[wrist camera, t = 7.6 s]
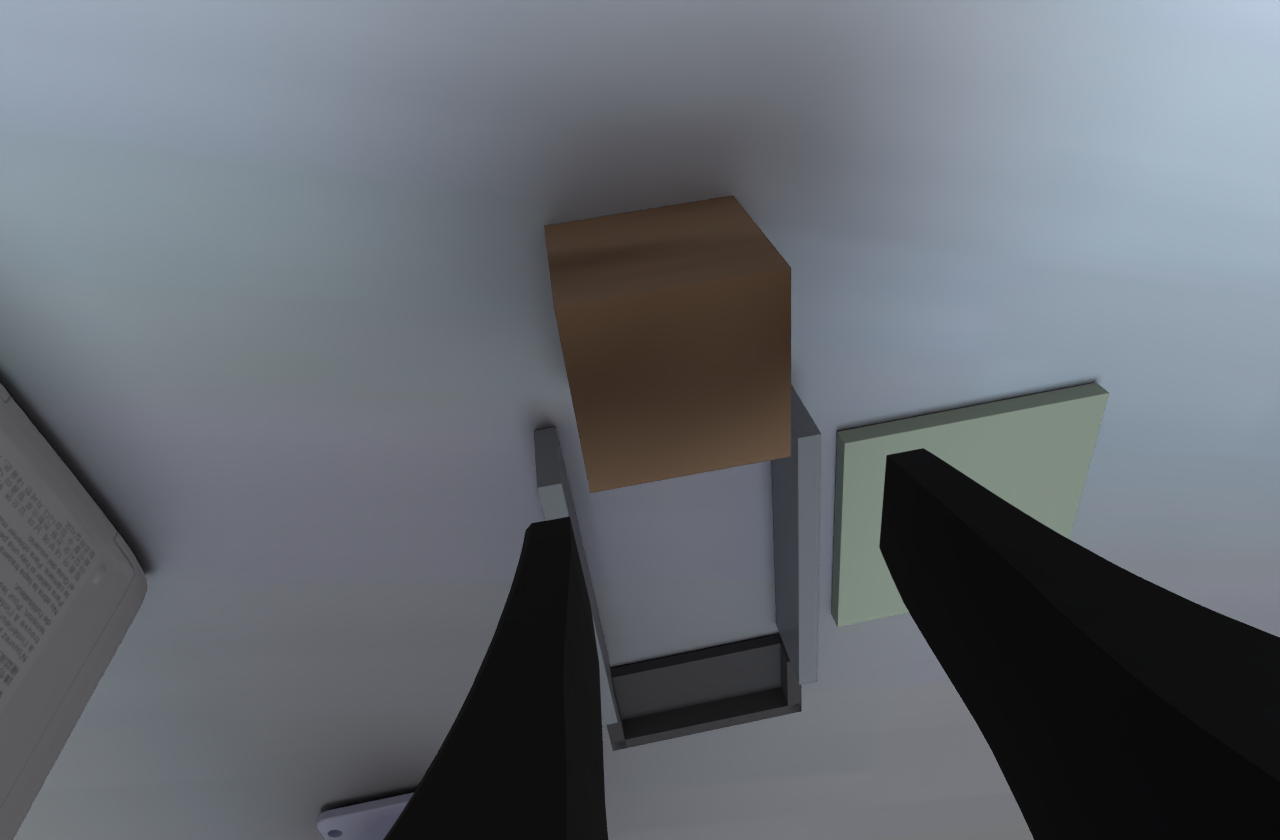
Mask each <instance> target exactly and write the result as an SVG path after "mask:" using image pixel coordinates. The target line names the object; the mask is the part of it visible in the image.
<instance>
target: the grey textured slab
mask: <svg viewBox="0 0 1280 840" xmlns="http://www.w3.org/2000/svg"><path fill="white" fill-rule="evenodd" d="M146 592H147V581H146V577H145V574H144V572H143V570H142V568H141V566H140V565H139V563H138V561H137V559H136V557H135V556H134V554H133V552H132V551H131V549H130V548H129V546H128V545H127V544H126V542H125V541H124V539H123V538H122V536H121V535H120V534H119V533H118V532H117V531H116V529H115V528H114V526H113V525H112V524H111V522H110V521H109V520H108V519H107V517H106V516H105V514H104V513H103V512H102V510H101V509H100V508H99V507H98V505H97V504H96V503H95V502H94V500H93V499H92V498H91V497H90V495H89V494H88V493H87V491H86V490H85V489H84V488H83V486H82V485H81V484H80V482H79V481H78V480H77V478H76V477H75V476H74V475H73V473H72V472H71V471H70V470H69V468H68V467H67V466H66V464H65V463H64V462H63V461H62V460H61V458H60V457H59V456H58V455H57V453H56V452H55V451H54V450H53V448H52V447H51V446H50V445H49V443H48V442H47V441H46V440H45V438H44V437H43V436H42V435H41V433H40V432H39V431H38V430H37V429H36V427H35V426H34V425H33V424H32V422H31V421H30V420H29V418H28V417H27V416H26V414H25V413H24V412H23V411H22V409H21V408H20V407H19V406H18V405H17V404H16V403H15V401H14V400H13V399H12V397H11V396H10V395H9V393H8V392H7V390H6V389H5V388H4V387H3V386H2V384H1V383H0V840H13V839H14V837H15V835H16V833H17V831H18V830H19V828H20V826H21V824H22V822H23V820H24V819H25V817H26V815H27V813H28V811H29V809H30V807H31V805H32V803H33V801H34V800H35V798H36V796H37V794H38V793H39V791H40V789H41V787H42V785H43V784H44V782H45V780H46V777H47V776H48V774H49V772H50V770H51V769H52V767H53V765H54V763H55V761H56V760H57V758H58V756H59V754H60V752H61V751H62V749H63V747H64V745H65V743H66V741H67V739H68V738H69V736H70V734H71V732H72V730H73V728H74V727H75V725H76V723H77V721H78V719H79V718H80V716H81V714H82V712H83V711H84V709H85V707H86V705H87V703H88V701H89V699H90V697H91V696H92V694H93V692H94V690H95V688H96V686H97V684H98V682H99V681H100V679H101V677H102V676H103V674H104V672H105V670H106V668H107V667H108V665H109V663H110V661H111V659H112V658H113V656H114V654H115V652H116V650H117V648H118V647H119V645H120V644H121V642H122V640H123V638H124V636H125V634H126V632H127V630H128V628H129V627H130V625H131V624H132V622H133V620H134V618H135V616H136V614H137V612H138V610H139V608H140V606H141V604H142V602H143V600H144V597H145V594H146Z"/></svg>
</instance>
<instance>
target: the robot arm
mask: <svg viewBox="0 0 1280 840" xmlns="http://www.w3.org/2000/svg"><path fill="white" fill-rule="evenodd" d="M879 548H880V551H881V553H882V555H883V558H884V560H885V562H886V565H887V567H888V569H889V572H890V574H891V576H892V579H893V581H894V583H895V585H896V587H897V590H898V592H899V594H900V596H901V598H902V600H903V603H904V604H905V606H906V608H907V609H908V611H909V613H910V615H911V616H912V618H913V620H914V621H915V623H916V625H917V626H918V628H919V630H920V631H921V633H922V635H923V636H924V638H925V639H926V641H927V643H928V644H929V646H930V648H931V649H932V651H933V653H934V654H935V656H936V658H937V659H938V661H939V662H940V664H941V666H942V667H943V669H944V671H945V672H946V674H947V675H948V677H949V679H950V680H951V682H952V684H953V685H954V687H955V689H956V690H957V692H958V693H959V695H960V697H961V698H962V700H963V702H964V703H965V705H966V706H967V708H968V710H969V711H970V713H971V715H972V716H973V718H974V720H975V721H976V723H977V725H978V726H979V728H980V730H981V732H982V734H983V735H984V737H985V739H986V741H987V743H988V744H989V746H990V748H991V750H992V752H993V754H994V756H995V758H996V760H997V762H998V764H999V766H1000V768H1001V770H1002V772H1003V774H1004V777H1005V779H1006V781H1007V783H1008V785H1009V787H1010V789H1011V791H1012V793H1013V795H1014V797H1015V799H1016V801H1017V803H1018V805H1019V807H1020V810H1021V812H1022V814H1023V816H1024V818H1025V820H1026V823H1027V825H1028V827H1029V829H1030V831H1031V833H1032V836H1033V838H1034V840H1280V637H1277V636H1274V635H1272V634H1269V633H1267V632H1264V631H1262V630H1259V629H1257V628H1254V627H1252V626H1249V625H1247V624H1244V623H1242V622H1239V621H1237V620H1234V619H1232V618H1229V617H1227V616H1224V615H1222V614H1219V613H1217V612H1215V611H1213V610H1210V609H1208V608H1206V607H1203V606H1201V605H1199V604H1196V603H1194V602H1192V601H1190V600H1187V599H1185V598H1183V597H1181V596H1179V595H1177V594H1175V593H1172V592H1170V591H1168V590H1166V589H1164V588H1162V587H1160V586H1158V585H1155V584H1153V583H1151V582H1149V581H1147V580H1145V579H1143V578H1141V577H1139V576H1137V575H1135V574H1133V573H1131V572H1129V571H1127V570H1125V569H1123V568H1121V567H1119V566H1117V565H1115V564H1113V563H1111V562H1109V561H1107V560H1106V559H1104V558H1102V557H1100V556H1098V555H1097V554H1095V553H1093V552H1091V551H1089V550H1087V549H1086V548H1084V547H1082V546H1080V545H1078V544H1077V543H1075V542H1073V541H1071V540H1069V539H1068V538H1066V537H1064V536H1062V535H1061V534H1059V533H1057V532H1056V531H1054V530H1052V529H1050V528H1049V527H1047V526H1045V525H1044V524H1042V523H1040V522H1039V521H1037V520H1035V519H1034V518H1032V517H1031V516H1029V515H1027V514H1026V513H1024V512H1022V511H1021V510H1019V509H1018V508H1016V507H1014V506H1013V505H1011V504H1010V503H1008V502H1006V501H1005V500H1003V499H1002V498H1000V497H999V496H997V495H995V494H994V493H992V492H991V491H989V490H988V489H986V488H985V487H983V486H982V485H980V484H979V483H977V482H975V481H974V480H972V479H971V478H969V477H968V476H966V475H965V474H963V473H962V472H960V471H959V470H957V469H956V468H954V467H952V466H951V465H949V464H948V463H946V462H945V461H943V460H942V459H940V458H939V457H937V456H935V455H934V454H932V453H931V452H929V451H927V450H926V449H924V448H921V449H916V450H911V451H906V452H901V453H895V454H890V455H887V456H886V469H885V481H884V494H883V506H882V519H881V532H880V544H879ZM316 826H317V829H318V830H319V832H320V833H321V835H322V836H323V837H324V839H325V840H608V833H607V821H606V809H605V791H604V766H603V741H602V715H601V691H600V669H599V659H598V652H597V645H596V638H595V631H594V624H593V617H592V611H591V604H590V600H589V596H588V592H587V587H586V583H585V579H584V575H583V570H582V566H581V562H580V558H579V553H578V549H577V545H576V541H575V536H574V532H573V528H572V524H571V519H570V516H568V517H563V518H558V519H553V520H548V521H542V522H537V523H532V524H531V525H530V526H529V527H528V528H527V530H526V532H525V537H524V543H523V547H522V551H521V555H520V559H519V563H518V566H517V570H516V573H515V577H514V580H513V583H512V586H511V589H510V592H509V595H508V598H507V601H506V604H505V606H504V609H503V612H502V615H501V617H500V620H499V623H498V626H497V629H496V631H495V634H494V636H493V639H492V641H491V644H490V646H489V648H488V651H487V653H486V655H485V658H484V660H483V662H482V664H481V667H480V669H479V671H478V674H477V676H476V678H475V681H474V683H473V685H472V687H471V689H470V691H469V694H468V696H467V698H466V700H465V702H464V704H463V706H462V708H461V710H460V712H459V714H458V716H457V718H456V720H455V722H454V724H453V725H452V727H451V729H450V731H449V733H448V735H447V737H446V738H445V740H444V742H443V744H442V746H441V748H440V750H439V751H438V753H437V755H436V756H435V758H434V760H433V762H432V763H431V765H430V767H429V768H428V770H427V772H426V773H425V775H424V777H423V778H422V780H421V782H420V784H419V785H418V787H417V789H416V790H415V792H413V793H408V794H403V795H399V796H394V797H389V798H384V799H380V800H375V801H370V802H365V803H360V804H356V805H351V806H346V807H341V808H337V809H332V810H327V811H325V812H323V813H321V814H320V815H319V817H318V820H317V825H316Z"/></svg>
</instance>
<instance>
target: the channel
mask: <svg viewBox="0 0 1280 840" xmlns="http://www.w3.org/2000/svg"><path fill="white" fill-rule="evenodd" d="M534 440H535V458H536V476H537V489H538V493H539V497H540V501H541V505H542V509H543V512H544V516H545V520H546V521H548V520H553V519H558V518H563V517H568V516H570V519H571V524H572V528H573V532H574V536H575V541H576V545H577V549H578V553H579V558H580V562H581V566H582V570H583V575H584V579H585V583H586V587H587V592H588V596H589V600H590V604H591V611H592V617H593V624H594V631H595V638H596V645H597V652H598V659H599V669H600V691H601V715H602V726H603V725H608V724H613V723H618V721H617V714H616V707H615V699H614V692H613V685H612V678H611V671H610V664H609V658H608V653H607V649H606V644H605V640H604V636H603V631H602V627H601V623H600V618H599V614H598V609H597V605H596V601H595V596H594V592H593V588H592V583H591V579H590V575H589V570H588V566H587V561H586V557H585V553H584V548H583V544H582V540H581V535H580V531H579V526H578V522H577V518H576V513H575V509H574V505H573V500H572V496H571V491H570V487H569V483H568V478H567V474H566V470H565V465H564V461H563V457H562V452H561V448H560V443H559V439H558V435H557V430H556V427H552V428H546V429H541V430H536V431H534ZM820 480H821V433H820V431H819V429H818V428H817V426H816V424H815V423H814V421H813V419H812V418H811V416H810V415H809V413H808V411H807V410H806V408H805V406H804V405H803V403H802V401H801V400H800V398H799V396H798V395H797V393H796V392H795V390H794V388H793V387H792V385H791V457H785V458H780V459H774V460H772V492H773V526H774V559H775V592H776V625H777V628H778V631H779V633H780V636H781V638H782V641H783V644H784V646H785V649H786V652H787V654H788V657H789V659H790V662H791V665H792V667H793V670H794V673H795V675H796V678H797V680H798V683H799V685H801V684H805V683H810V682H815V681H817V656H818V598H819V539H820Z"/></svg>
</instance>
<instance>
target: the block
mask: <svg viewBox="0 0 1280 840" xmlns="http://www.w3.org/2000/svg"><path fill="white" fill-rule="evenodd" d="M544 227H545V236H546V244H547V252H548V261H549V269H550V277H551V286H552V294H553V302H554V309H555V315H556V320H557V325H558V330H559V335H560V340H561V345H562V350H563V356H564V361H565V366H566V371H567V376H568V381H569V386H570V391H571V396H572V402H573V407H574V412H575V417H576V422H577V427H578V432H579V437H580V442H581V448H582V453H583V458H584V463H585V468H586V473H587V478H588V483H589V488H590V493H593V492H598V491H604V490H609V489H615V488H620V487H626V486H631V485H637V484H642V483H648V482H653V481H659V480H664V479H670V478H675V477H681V476H686V475H692V474H697V473H703V472H708V471H714V470H719V469H725V468H730V467H736V466H741V465H747V464H752V463H758V462H763V461H769V460H774V459H780V458H785V457H791V267H790V266H789V265H788V263H787V262H786V261H785V260H784V258H783V257H782V256H781V255H780V253H779V252H778V251H777V250H776V248H775V247H774V246H773V245H772V243H771V242H770V241H769V240H768V238H767V237H766V236H765V235H764V233H763V232H762V231H761V230H760V228H759V227H758V226H757V225H756V223H755V222H754V221H753V220H752V218H751V217H750V216H749V215H748V213H747V212H746V211H745V210H744V209H743V207H742V206H741V205H740V204H739V202H738V201H737V200H736V199H735V197H734V196H727V197H721V198H714V199H708V200H702V201H696V202H690V203H683V204H677V205H671V206H665V207H659V208H653V209H646V210H640V211H634V212H628V213H622V214H615V215H609V216H603V217H597V218H591V219H584V220H578V221H572V222H566V223H560V224H553V225H547V226H544Z"/></svg>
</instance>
